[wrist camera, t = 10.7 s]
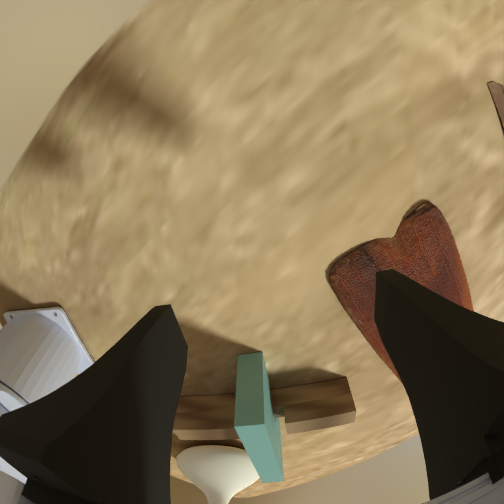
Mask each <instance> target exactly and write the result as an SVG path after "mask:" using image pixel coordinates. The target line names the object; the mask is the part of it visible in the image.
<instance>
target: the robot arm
mask: <svg viewBox="0 0 504 504" xmlns="http://www.w3.org/2000/svg"><path fill="white" fill-rule="evenodd" d="M4 318H5V320H6V321H7V323H6V324H5V325H4V327H3V328H2V329H1V330H0V504H171V503H170V458H171V443H172V432H173V426H174V420H175V415H176V411H177V407H178V402H179V398H180V394H181V389H182V385H183V380H184V376H185V371H186V362H187V350H188V346H187V344H186V341H185V339H184V337H183V334H182V332H181V329H180V327H179V324H178V322H177V319H176V317H175V314H174V312H173V309H172V307H171V304H170V305H161V306H155V307H154V308H152V309H151V310H150V311H149V312H148V313H147V314H146V315H145V316H144V317H143V318H142V319H141V320H139V321H138V322H137V323H136V324H135V325H134V326H133V327H132V328H131V329H130V330H129V331H128V332H127V333H126V334H125V335H124V336H123V337H122V338H121V339H120V340H119V341H118V342H117V343H116V344H115V345H114V346H113V347H111V348H110V349H109V350H108V351H107V352H106V353H105V354H104V355H103V356H102V357H101V358H99V359H98V360H97V361H96V362H95V363H94V361H93V360H92V358H91V357H90V355H89V353H88V352H87V350H86V348H85V347H84V345H83V343H82V342H81V340H80V338H79V337H78V335H77V333H76V332H75V330H74V328H73V326H72V324H71V323H70V321H69V319H68V317H67V315H66V313H65V312H64V310H63V309H62V308H61V307H51V308H41V309H30V310H20V311H8V312H5V313H4ZM374 320H375V323H376V326H377V329H378V332H379V334H380V337H381V340H382V342H383V344H384V347H385V349H386V351H387V353H388V355H389V357H390V359H391V361H392V363H393V365H394V367H395V369H396V371H397V373H398V375H399V377H400V379H401V381H402V383H403V385H404V387H405V390H406V392H407V395H408V397H409V400H410V403H411V406H412V409H413V413H414V416H415V419H416V423H417V427H418V430H419V434H420V438H421V442H422V448H423V453H424V458H425V463H426V470H427V477H428V484H429V497H430V501H428V502H425V503H423V504H504V322H501V321H497V320H494V319H491V318H489V317H486V316H483V315H481V314H479V313H476V312H474V311H471V310H469V309H467V308H464V307H462V306H460V305H458V304H456V303H454V302H452V301H450V300H448V299H446V298H444V297H442V296H441V295H439V294H437V293H435V292H433V291H431V290H430V289H428V288H426V287H424V286H423V285H421V284H419V283H417V282H416V281H414V280H412V279H411V278H409V277H407V276H405V275H403V274H402V273H400V272H398V271H396V270H394V269H388V270H383V271H378V272H376V291H375V309H374ZM76 374H79V375H78V376H76ZM75 376H76V377H75Z"/></svg>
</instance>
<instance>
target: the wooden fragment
mask: <svg viewBox="0 0 504 504" xmlns="http://www.w3.org/2000/svg"><path fill="white" fill-rule="evenodd" d="M487 84H488V86H489V89H490V91H491V94H492V97H493V99H494V102H495V104H496V107H497V110H498V112H499V115H500V118H501V121H502V124H503V127H504V86H503V85H502V84H498V83H496V82H487Z"/></svg>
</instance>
